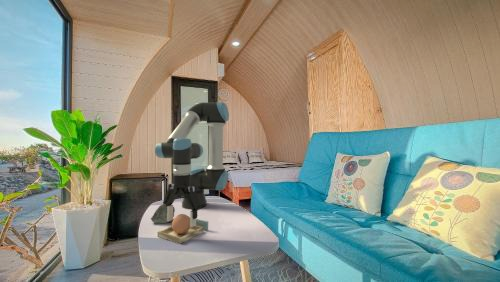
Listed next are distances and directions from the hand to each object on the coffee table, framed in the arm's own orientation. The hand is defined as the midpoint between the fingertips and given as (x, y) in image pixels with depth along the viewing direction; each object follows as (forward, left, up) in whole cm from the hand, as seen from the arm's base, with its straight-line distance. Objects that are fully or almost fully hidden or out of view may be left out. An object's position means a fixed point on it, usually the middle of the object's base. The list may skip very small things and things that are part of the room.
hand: (181, 223), depth 94 cm
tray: (0, 0, -5) cm, 5 cm away
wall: (-8, -1, -5) cm, 10 cm away
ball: (0, 0, -4) cm, 4 cm away
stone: (-8, -19, -5) cm, 21 cm away
